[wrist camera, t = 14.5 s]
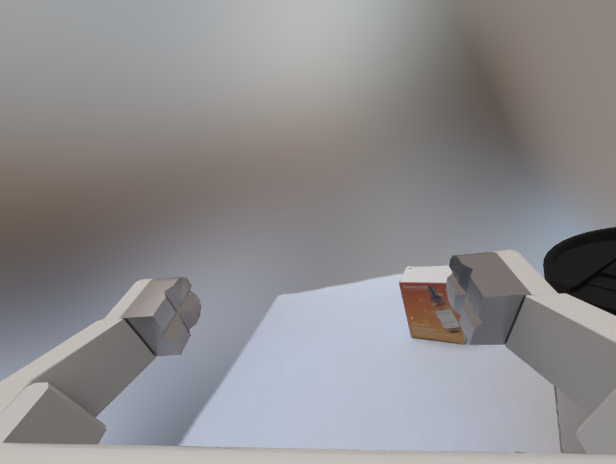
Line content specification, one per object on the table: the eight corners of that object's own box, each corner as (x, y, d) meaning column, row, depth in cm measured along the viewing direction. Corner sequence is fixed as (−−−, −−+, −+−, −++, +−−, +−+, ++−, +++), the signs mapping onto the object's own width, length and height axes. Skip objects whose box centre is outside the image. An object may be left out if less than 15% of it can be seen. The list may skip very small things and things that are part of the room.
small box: (410, 338, 44) (396, 282, 41) (417, 317, 48) (405, 265, 45) (466, 345, 39) (454, 282, 36) (468, 321, 43) (458, 264, 41)
